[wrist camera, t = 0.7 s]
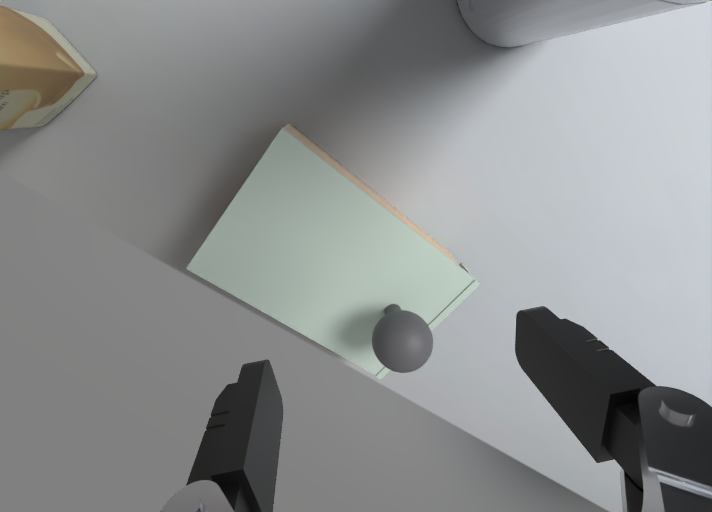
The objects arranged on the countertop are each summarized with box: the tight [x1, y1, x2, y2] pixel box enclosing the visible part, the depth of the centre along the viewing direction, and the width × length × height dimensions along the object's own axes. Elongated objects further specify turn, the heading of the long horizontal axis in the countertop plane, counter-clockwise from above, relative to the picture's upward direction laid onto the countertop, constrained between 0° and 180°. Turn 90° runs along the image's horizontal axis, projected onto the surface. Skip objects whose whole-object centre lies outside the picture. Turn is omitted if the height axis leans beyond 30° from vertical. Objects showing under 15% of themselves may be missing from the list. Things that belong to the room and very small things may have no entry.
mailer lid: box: [186, 127, 480, 380], centre depth 25 cm, size 19×12×9 cm, turn 51°
